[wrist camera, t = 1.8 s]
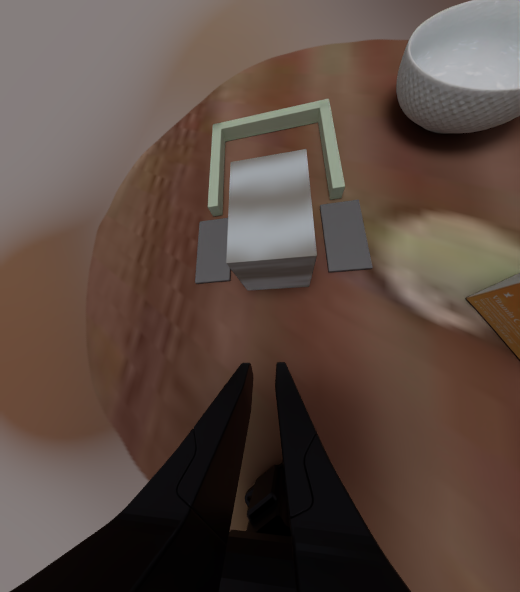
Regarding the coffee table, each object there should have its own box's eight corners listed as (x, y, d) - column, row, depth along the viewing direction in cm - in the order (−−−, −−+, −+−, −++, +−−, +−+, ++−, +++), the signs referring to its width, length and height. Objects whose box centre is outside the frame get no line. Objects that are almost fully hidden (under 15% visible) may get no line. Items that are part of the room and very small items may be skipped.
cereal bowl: (551, 108, 25) (647, 19, 18) (449, 179, 24) (508, 115, 18) (442, 59, 30) (484, -24, 23) (357, 117, 30) (376, 50, 23)
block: (308, 286, 24) (316, 255, 16) (247, 290, 25) (226, 263, 17) (302, 208, 27) (306, 149, 19) (248, 215, 28) (230, 162, 20)
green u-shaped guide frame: (371, 268, 23) (378, 261, 21) (196, 283, 27) (189, 278, 25) (339, 111, 31) (342, 95, 29) (207, 139, 34) (202, 127, 32)
